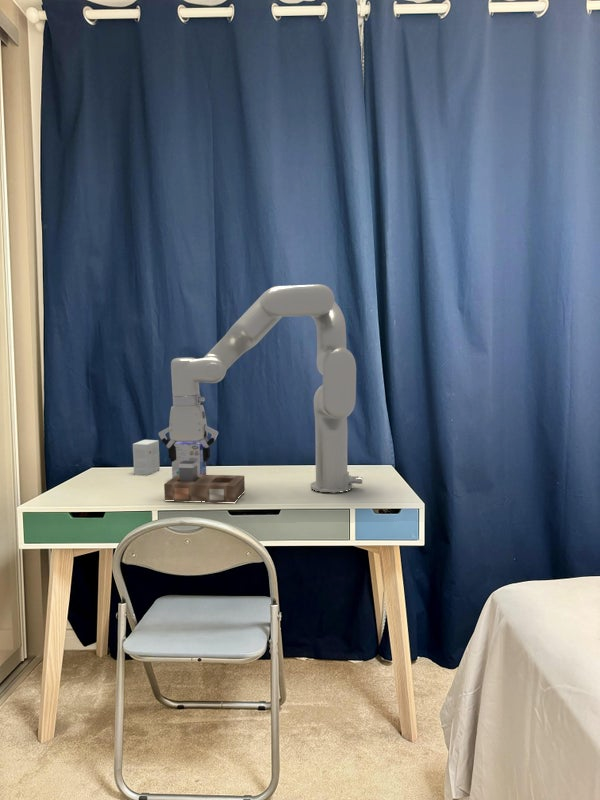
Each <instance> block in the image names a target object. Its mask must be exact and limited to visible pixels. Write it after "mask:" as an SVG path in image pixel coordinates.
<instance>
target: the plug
mask: <svg viewBox="0 0 600 800" xmlns="http://www.w3.org/2000/svg"><path fill="white" fill-rule="evenodd" d="M196 480H198V475H197V461H182V462H181V463H179V481H180V482H195V481H196Z"/></svg>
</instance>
